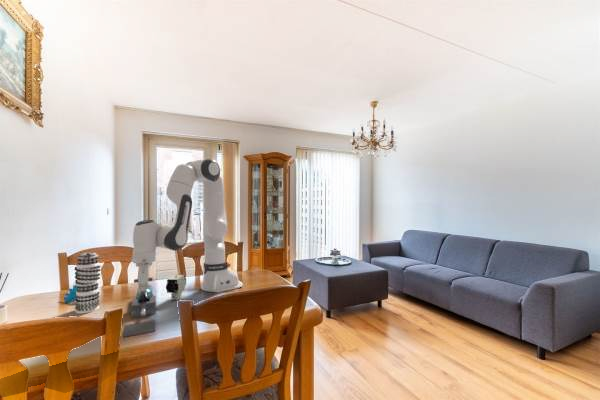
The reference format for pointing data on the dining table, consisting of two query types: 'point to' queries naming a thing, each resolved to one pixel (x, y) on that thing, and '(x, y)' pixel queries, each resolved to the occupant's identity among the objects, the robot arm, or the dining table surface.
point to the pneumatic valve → (176, 286)
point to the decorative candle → (87, 282)
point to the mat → (139, 328)
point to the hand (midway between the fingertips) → (143, 289)
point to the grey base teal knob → (144, 304)
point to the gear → (71, 295)
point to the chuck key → (142, 293)
